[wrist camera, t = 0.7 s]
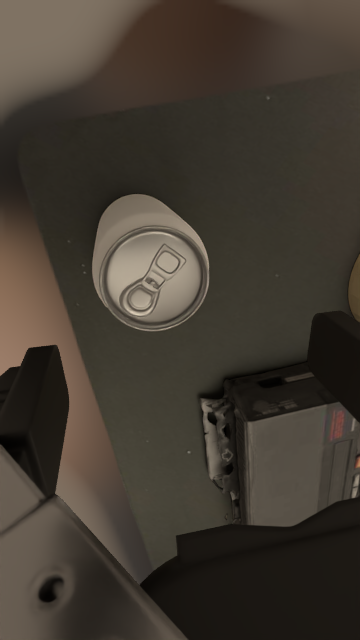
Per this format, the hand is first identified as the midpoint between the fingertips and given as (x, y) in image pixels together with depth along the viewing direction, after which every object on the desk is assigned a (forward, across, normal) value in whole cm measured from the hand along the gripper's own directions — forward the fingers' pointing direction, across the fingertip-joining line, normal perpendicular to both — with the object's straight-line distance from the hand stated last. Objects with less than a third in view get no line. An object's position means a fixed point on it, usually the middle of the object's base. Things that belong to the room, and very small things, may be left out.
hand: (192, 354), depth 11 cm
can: (+20, 0, 0) cm, 20 cm away
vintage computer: (+20, -20, +35) cm, 45 cm away
